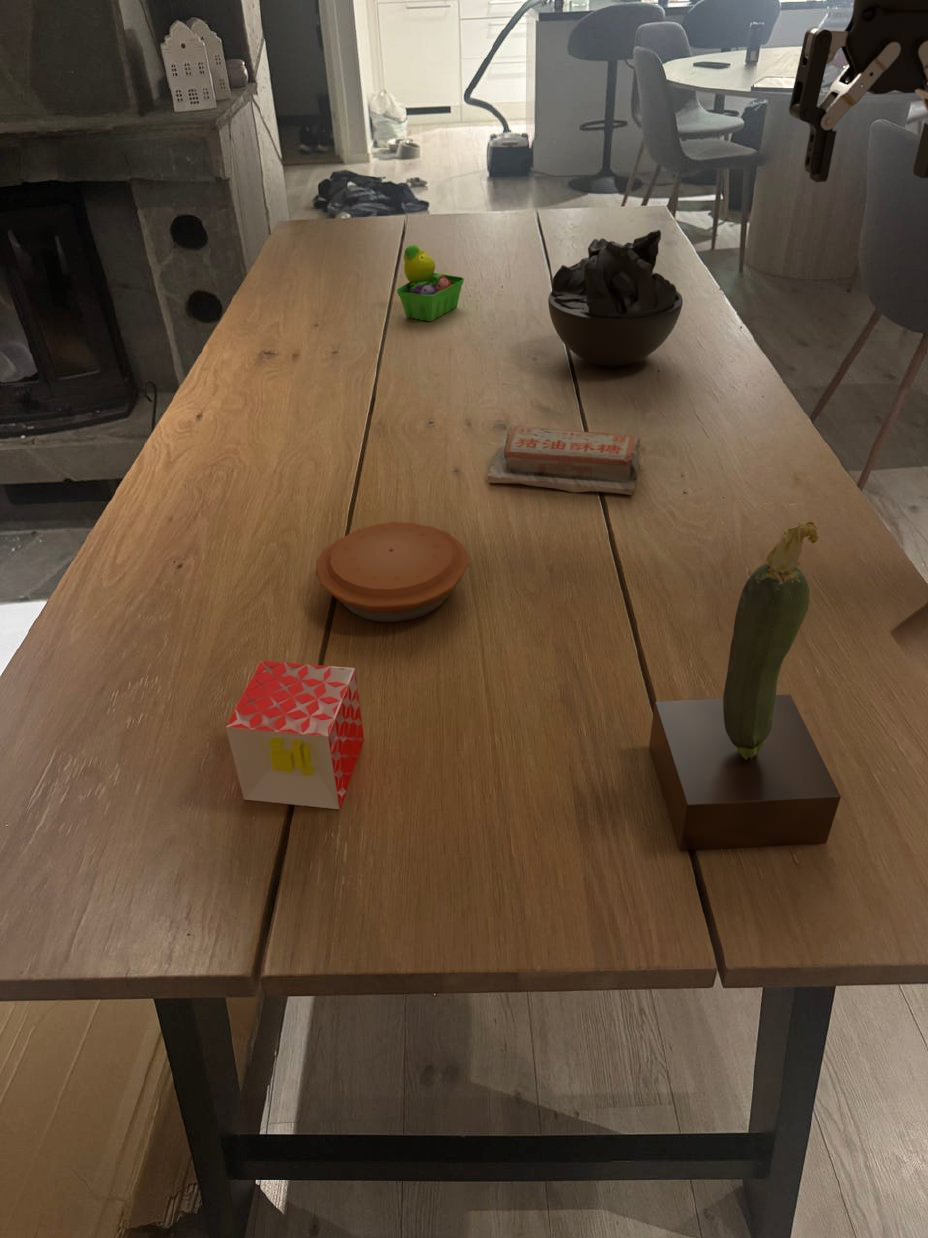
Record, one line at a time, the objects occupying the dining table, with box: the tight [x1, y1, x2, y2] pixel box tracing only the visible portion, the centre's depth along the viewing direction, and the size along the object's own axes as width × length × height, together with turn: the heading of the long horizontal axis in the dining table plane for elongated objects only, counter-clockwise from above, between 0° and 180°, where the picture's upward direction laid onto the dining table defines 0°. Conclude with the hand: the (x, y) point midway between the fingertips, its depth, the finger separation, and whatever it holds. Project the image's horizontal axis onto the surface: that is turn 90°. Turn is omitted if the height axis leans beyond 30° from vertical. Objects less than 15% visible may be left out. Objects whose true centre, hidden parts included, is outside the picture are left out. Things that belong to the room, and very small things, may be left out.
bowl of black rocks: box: [547, 229, 683, 367], centre depth 140 cm, size 20×20×19 cm
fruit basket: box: [396, 244, 465, 322], centre depth 163 cm, size 11×9×11 cm
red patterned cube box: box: [225, 660, 365, 810], centre depth 74 cm, size 8×8×8 cm
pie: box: [315, 521, 470, 623], centre depth 95 cm, size 15×16×5 cm
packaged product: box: [487, 425, 642, 496], centre depth 115 cm, size 18×5×10 cm
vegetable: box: [722, 520, 820, 759], centre depth 64 cm, size 4×4×20 cm
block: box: [648, 694, 842, 852], centre depth 71 cm, size 11×11×5 cm
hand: (870, 178), depth 74 cm, fingers open, 8 cm apart
